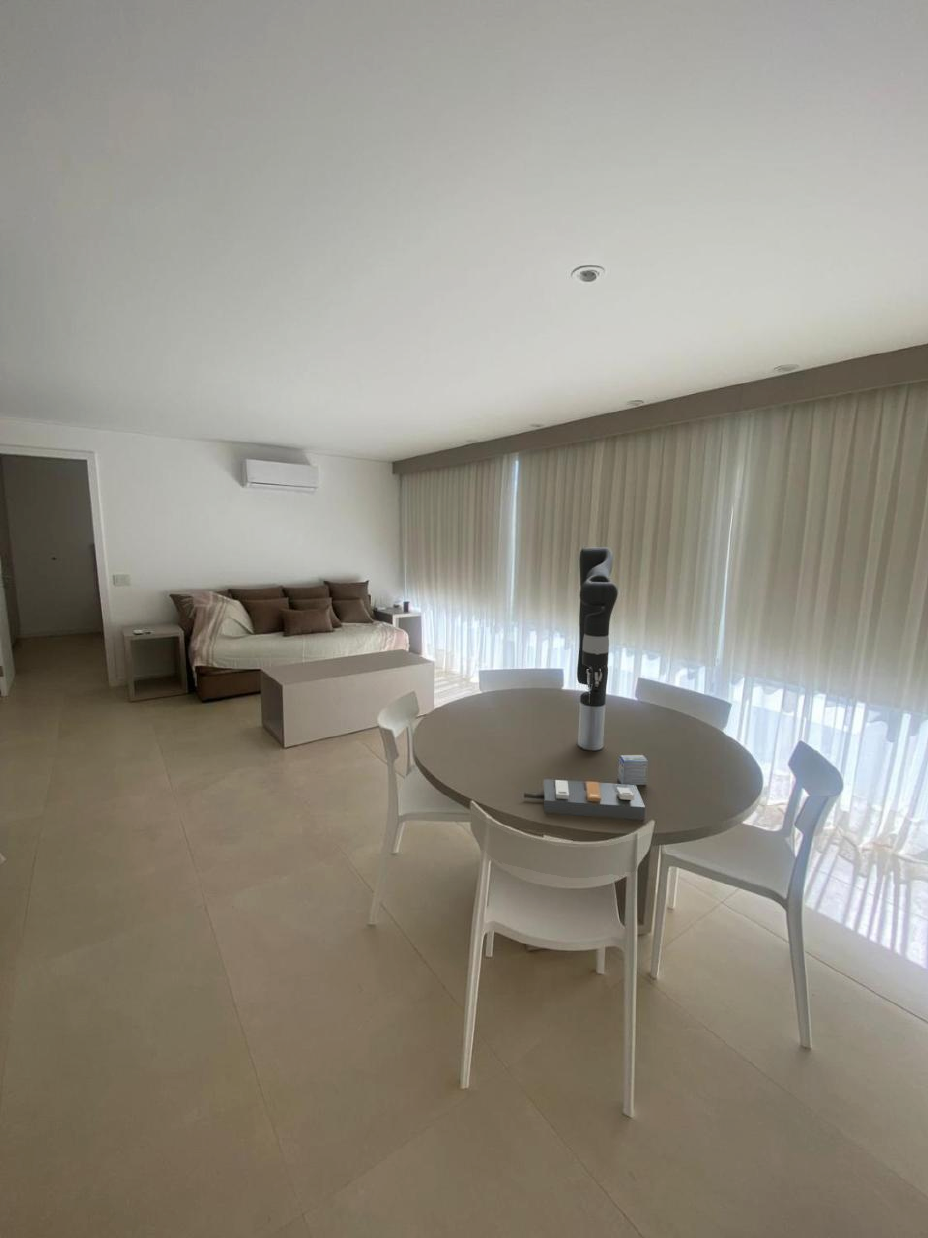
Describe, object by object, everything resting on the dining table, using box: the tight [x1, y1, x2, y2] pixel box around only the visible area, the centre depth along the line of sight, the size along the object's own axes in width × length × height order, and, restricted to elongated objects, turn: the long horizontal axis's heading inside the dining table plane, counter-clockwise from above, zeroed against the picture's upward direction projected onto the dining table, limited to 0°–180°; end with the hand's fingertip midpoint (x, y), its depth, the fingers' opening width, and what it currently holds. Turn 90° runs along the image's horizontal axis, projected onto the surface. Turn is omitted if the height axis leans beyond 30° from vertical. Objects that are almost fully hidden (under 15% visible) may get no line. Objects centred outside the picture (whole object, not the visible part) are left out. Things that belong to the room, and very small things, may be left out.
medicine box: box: [617, 754, 649, 786], centre depth 156 cm, size 8×4×9 cm, turn 92°
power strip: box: [523, 778, 646, 821], centre depth 144 cm, size 12×34×5 cm, turn 83°
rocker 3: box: [616, 787, 634, 800], centre depth 139 cm, size 6×4×2 cm, turn 173°
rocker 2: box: [585, 781, 601, 802], centre depth 140 cm, size 6×4×2 cm, turn 173°
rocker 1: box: [554, 779, 569, 799], centre depth 141 cm, size 6×4×2 cm, turn 173°
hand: (592, 704), depth 145 cm, fingers closed
